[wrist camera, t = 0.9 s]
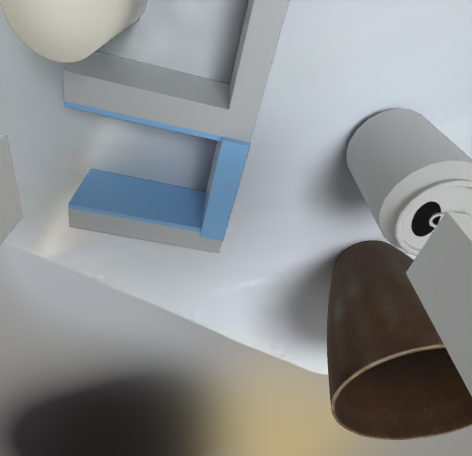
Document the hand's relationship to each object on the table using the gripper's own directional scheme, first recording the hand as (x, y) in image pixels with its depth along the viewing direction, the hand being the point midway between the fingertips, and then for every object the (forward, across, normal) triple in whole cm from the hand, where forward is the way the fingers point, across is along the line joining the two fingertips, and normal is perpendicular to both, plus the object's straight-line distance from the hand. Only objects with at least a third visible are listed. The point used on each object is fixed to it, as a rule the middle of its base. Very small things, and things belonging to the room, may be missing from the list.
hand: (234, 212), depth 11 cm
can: (+22, +15, -5) cm, 27 cm away
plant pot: (+22, +19, -19) cm, 35 cm away
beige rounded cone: (+22, -9, +3) cm, 24 cm away
